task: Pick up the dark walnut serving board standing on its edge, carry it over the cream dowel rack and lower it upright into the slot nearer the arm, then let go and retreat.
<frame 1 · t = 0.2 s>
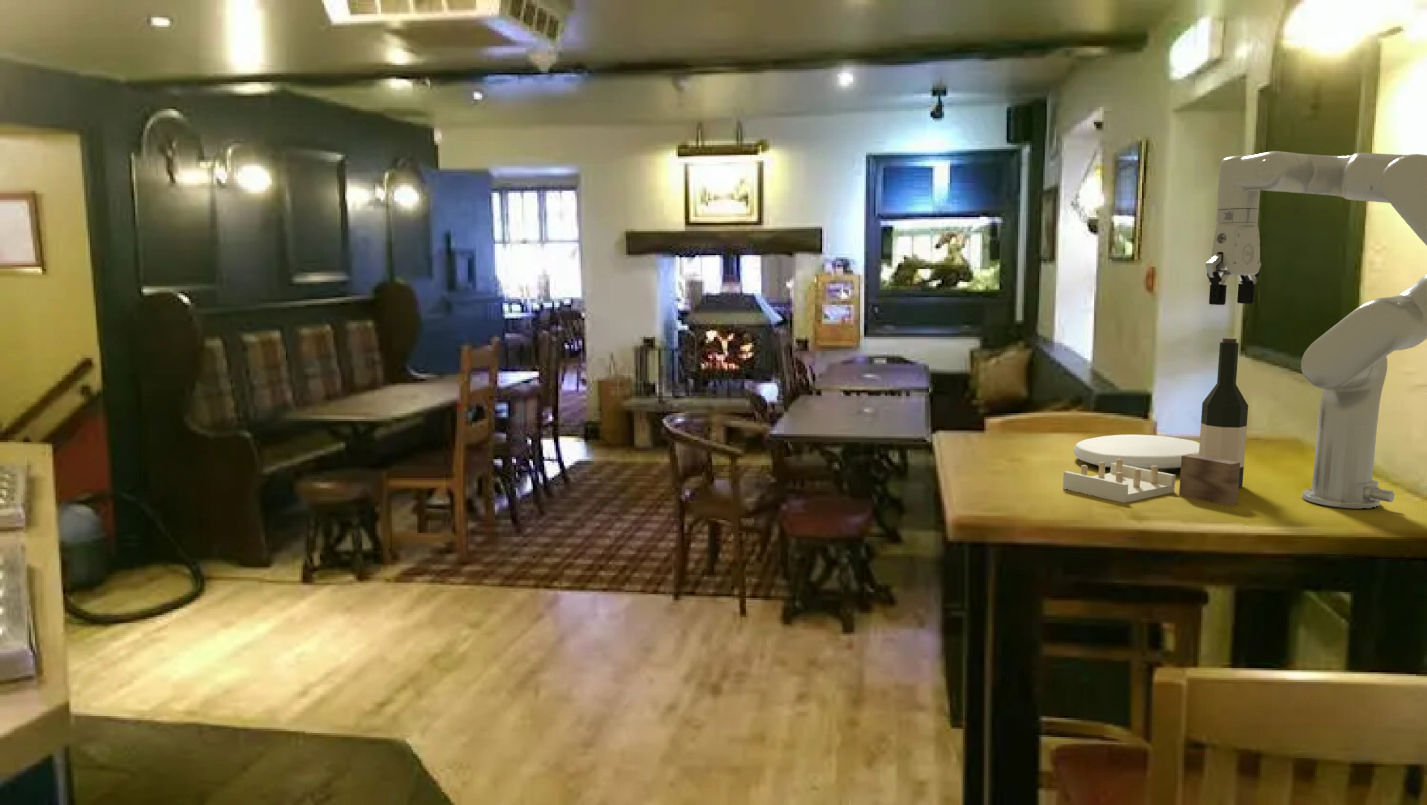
hand: (1231, 303, 206), 37 cm above the table, tool pointing down, fingers open, 9 cm apart
rack: (1118, 490, 202), on the table
plate: (1138, 465, 228), on the table
walnut board: (1207, 499, 194), on the table
wine bottle: (1219, 485, 207), on the table
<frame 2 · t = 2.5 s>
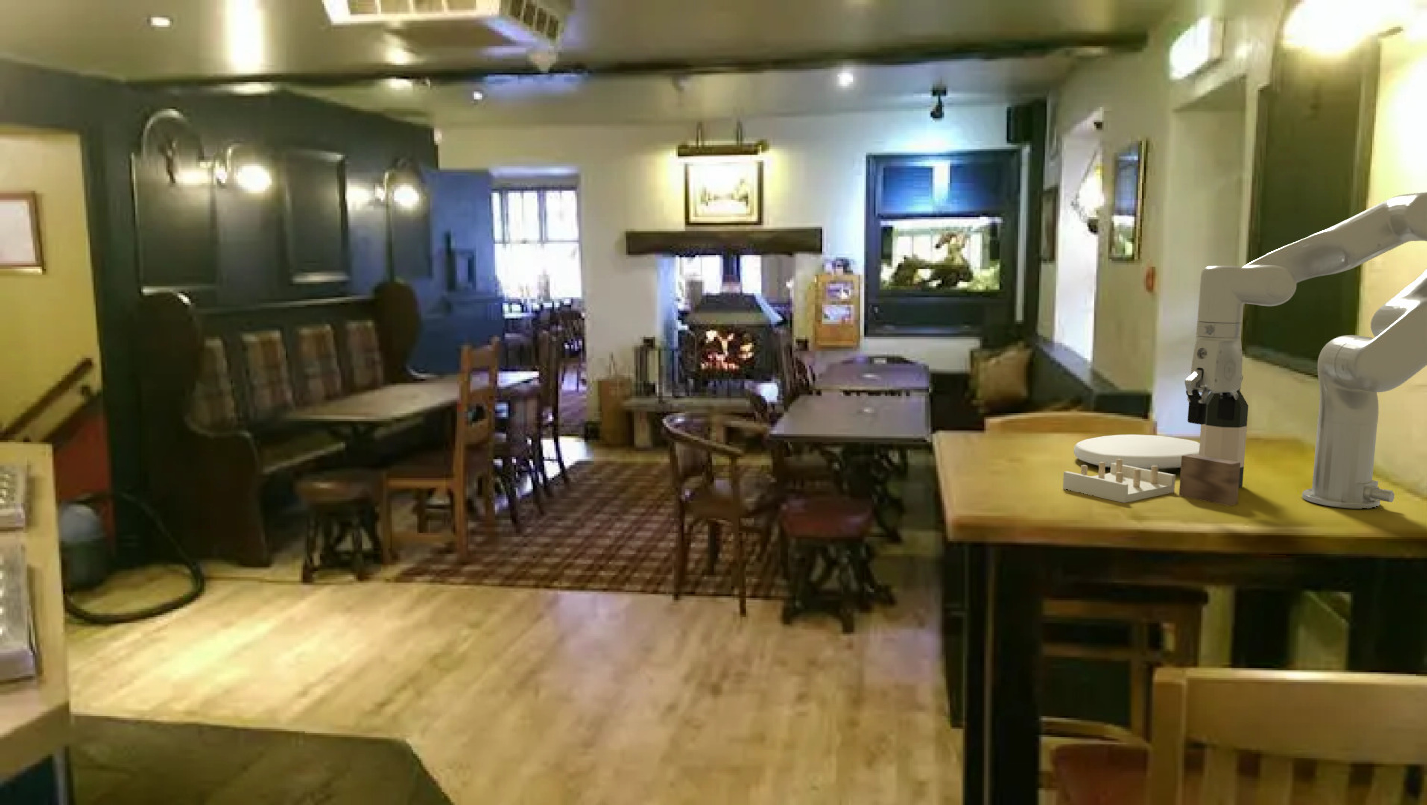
hand: (1211, 421, 192), 15 cm above the table, tool pointing down, fingers open, 9 cm apart
nothing on the table moved.
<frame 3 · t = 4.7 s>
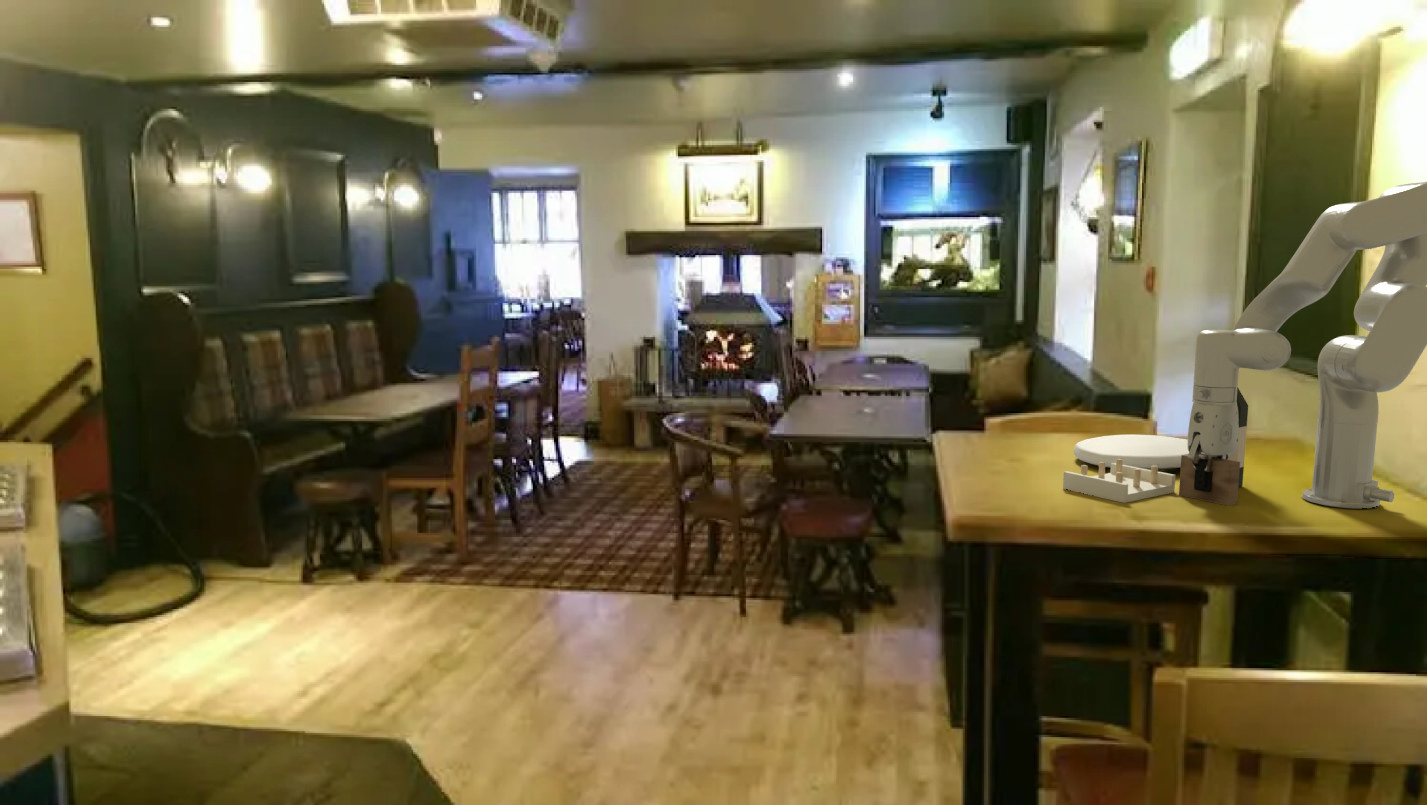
hand: (1208, 488, 194), 2 cm above the table, tool pointing down, fingers closed on walnut board, 3 cm apart
walnut board: (1207, 499, 194), on the table, touching gripper
everything else where it was.
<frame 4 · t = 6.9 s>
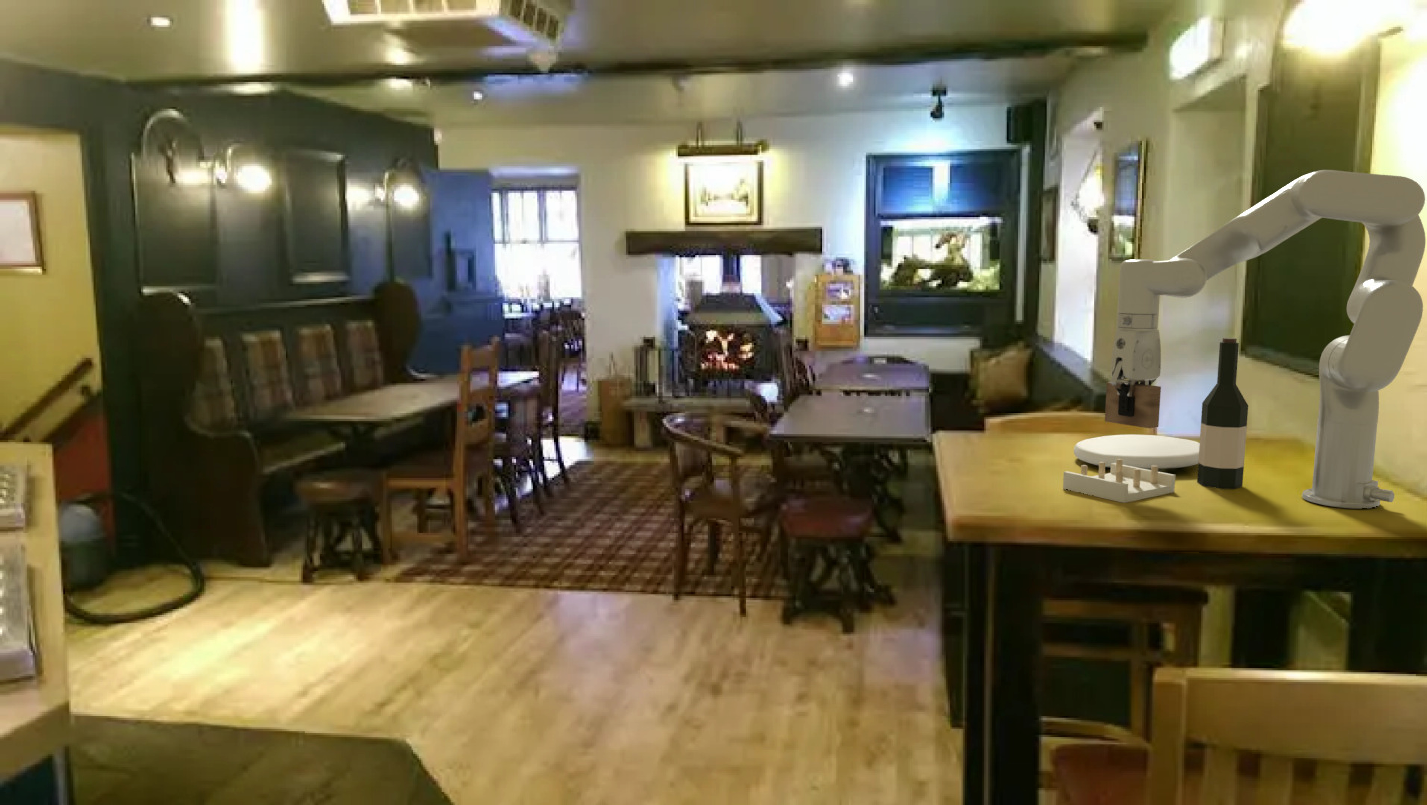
hand: (1131, 414, 201), 15 cm above the table, tool pointing down, fingers closed on walnut board, 3 cm apart
walnut board: (1131, 424, 201), point 13 cm above the table, touching gripper
everything else where it was.
when the fingers open (5 cm above the table, at t = 9.3 s): walnut board drops 2 cm, resting on rack.
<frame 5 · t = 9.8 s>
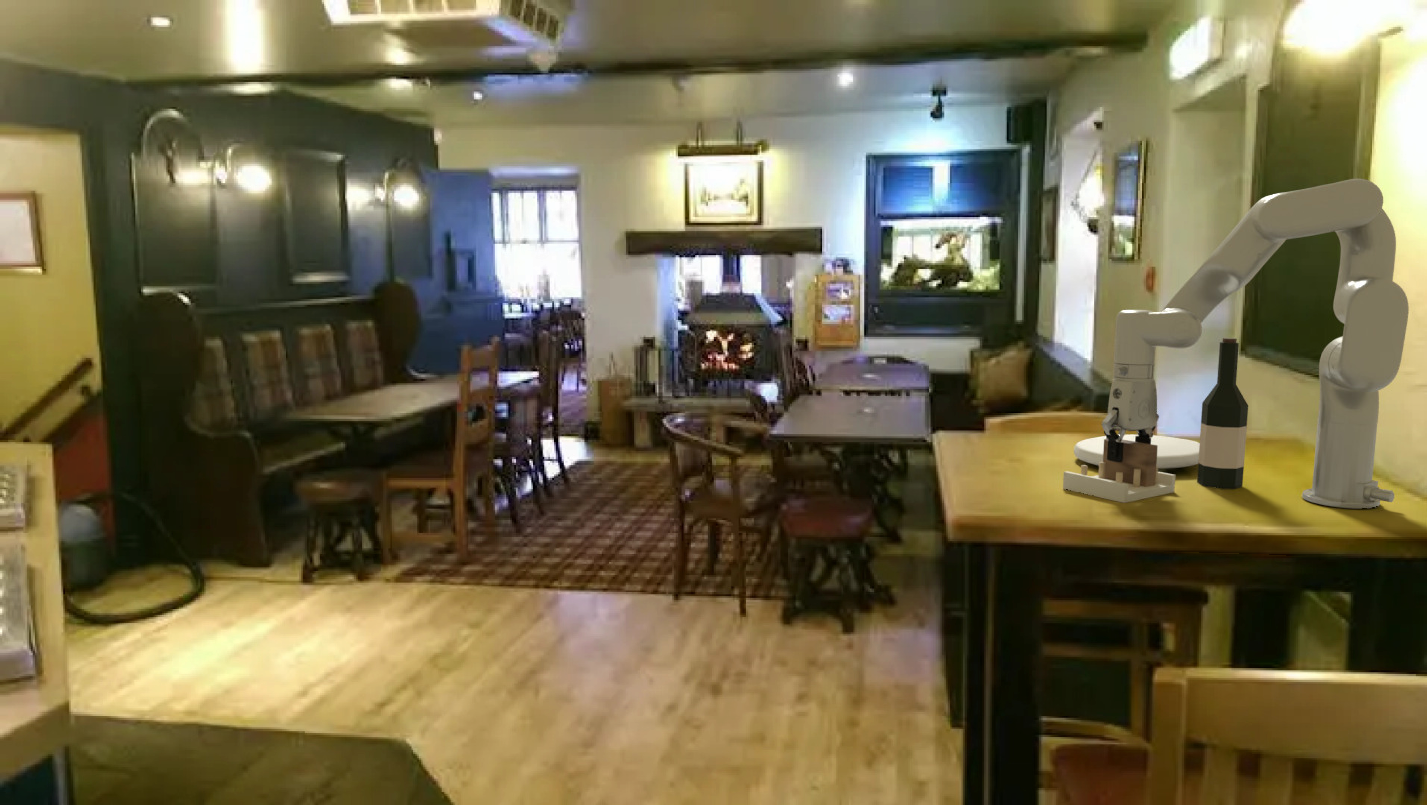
hand: (1128, 458, 202), 6 cm above the table, tool pointing down, fingers open, 8 cm apart
walnut board: (1128, 481, 203), point 1 cm above the table, touching rack
everything else where it was.
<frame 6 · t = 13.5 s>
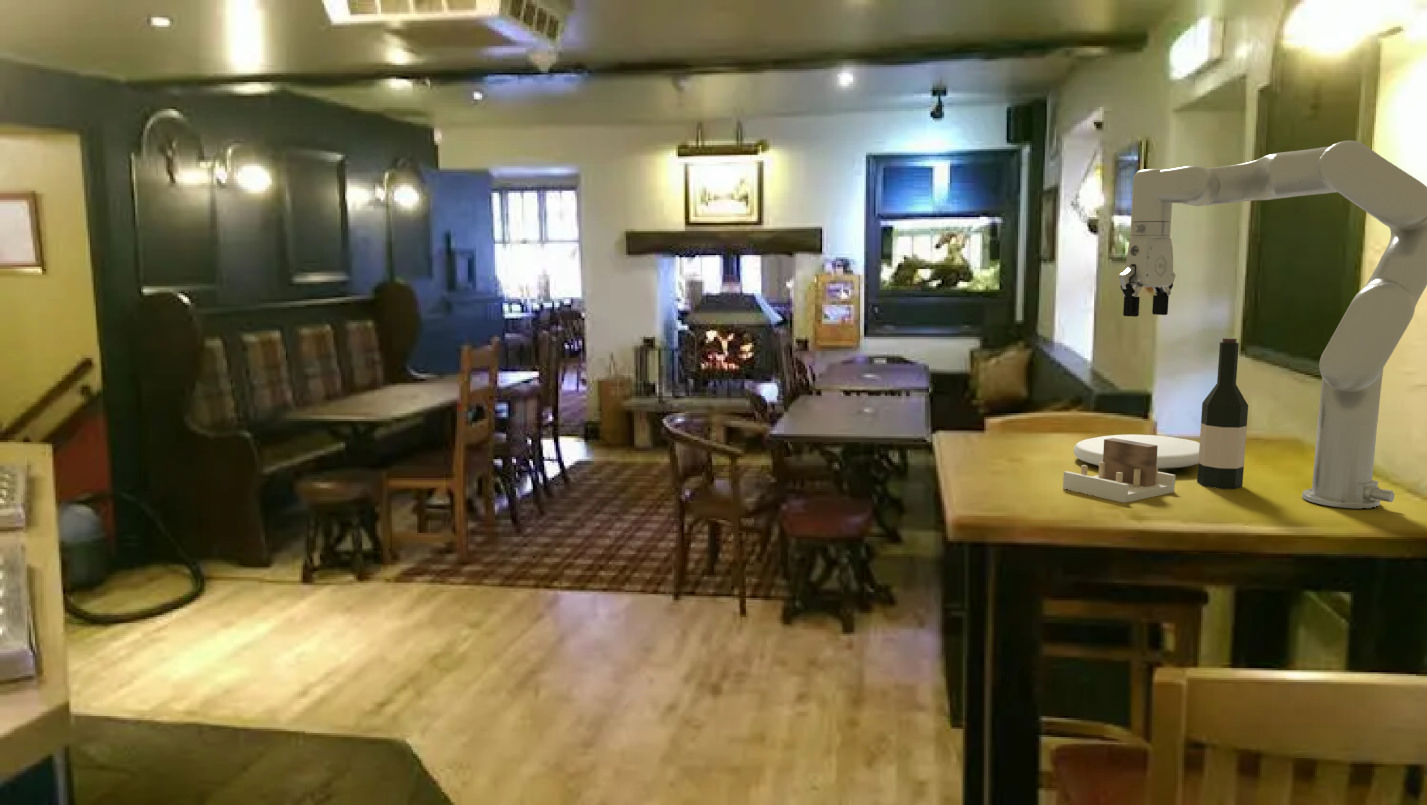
hand: (1145, 315, 208), 34 cm above the table, tool pointing down, fingers open, 9 cm apart
nothing on the table moved.
at the end: walnut board inside the target area on the rack (0.1 cm from its centre), point 1.5 cm above the rack's base; walnut board tilted 0°; the gripper is holding nothing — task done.
